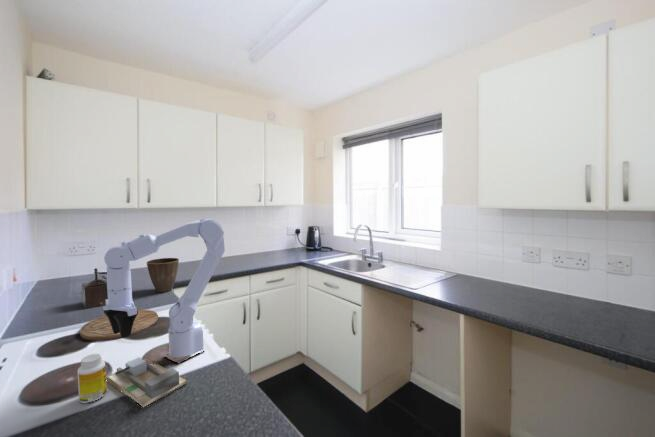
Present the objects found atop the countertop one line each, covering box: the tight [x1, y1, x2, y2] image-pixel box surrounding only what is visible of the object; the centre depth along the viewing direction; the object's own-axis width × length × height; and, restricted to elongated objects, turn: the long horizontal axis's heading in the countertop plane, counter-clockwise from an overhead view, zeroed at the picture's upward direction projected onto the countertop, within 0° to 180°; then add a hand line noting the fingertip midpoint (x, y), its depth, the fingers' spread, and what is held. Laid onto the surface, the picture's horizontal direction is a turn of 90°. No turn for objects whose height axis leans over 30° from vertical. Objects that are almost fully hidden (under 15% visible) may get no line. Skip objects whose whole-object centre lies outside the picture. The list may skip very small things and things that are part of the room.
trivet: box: [79, 309, 159, 342], centre depth 120 cm, size 25×25×2 cm
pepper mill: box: [81, 267, 108, 310], centre depth 145 cm, size 16×11×18 cm
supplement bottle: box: [76, 353, 108, 404], centre depth 77 cm, size 6×6×10 cm
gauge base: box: [106, 363, 187, 408], centre depth 83 cm, size 11×20×4 cm, turn 56°
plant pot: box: [146, 257, 180, 293], centre depth 163 cm, size 15×15×16 cm
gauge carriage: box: [114, 356, 147, 377], centre depth 84 cm, size 7×4×3 cm, turn 146°
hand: (122, 334), depth 89 cm, fingers open, 4 cm apart
